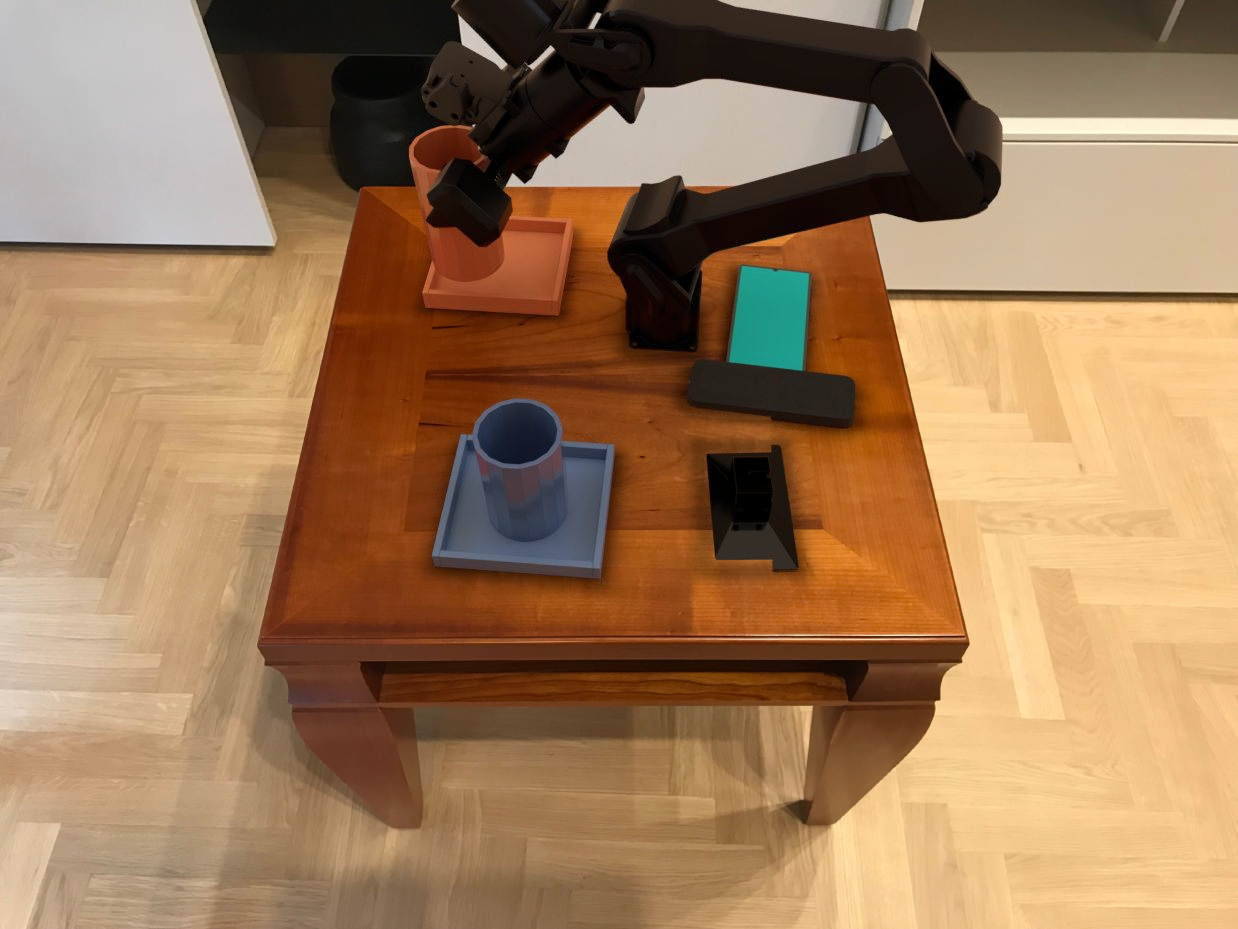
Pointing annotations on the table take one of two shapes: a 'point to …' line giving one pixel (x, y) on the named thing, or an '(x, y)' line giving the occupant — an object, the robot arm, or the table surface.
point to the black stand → (751, 508)
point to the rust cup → (446, 244)
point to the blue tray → (562, 553)
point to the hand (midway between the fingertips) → (444, 197)
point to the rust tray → (514, 272)
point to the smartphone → (770, 317)
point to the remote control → (773, 392)
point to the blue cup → (522, 468)
